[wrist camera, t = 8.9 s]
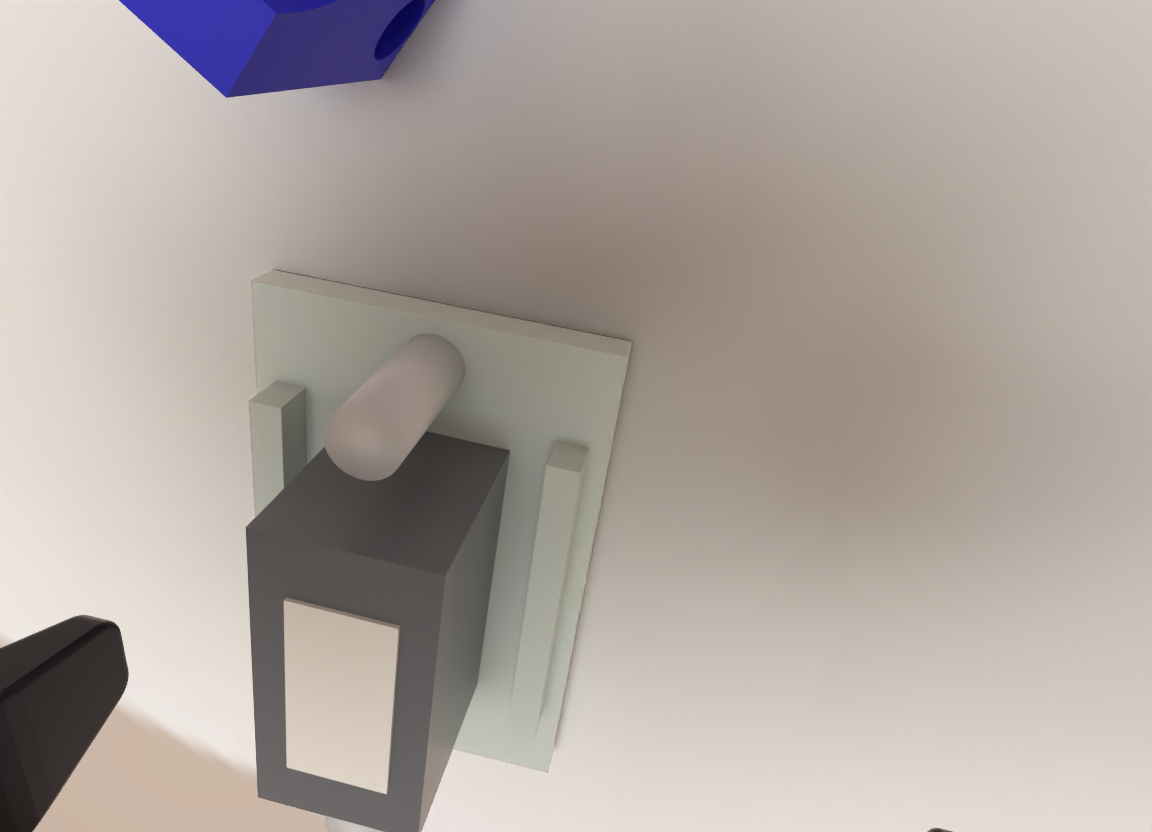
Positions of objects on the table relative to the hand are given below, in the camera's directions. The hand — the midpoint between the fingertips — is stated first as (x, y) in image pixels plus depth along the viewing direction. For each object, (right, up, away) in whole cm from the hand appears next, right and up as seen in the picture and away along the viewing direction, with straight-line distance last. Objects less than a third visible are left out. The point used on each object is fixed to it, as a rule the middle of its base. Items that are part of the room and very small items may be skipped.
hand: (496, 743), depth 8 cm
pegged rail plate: (-3, 0, +14) cm, 14 cm away
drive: (-3, 0, +13) cm, 13 cm away
